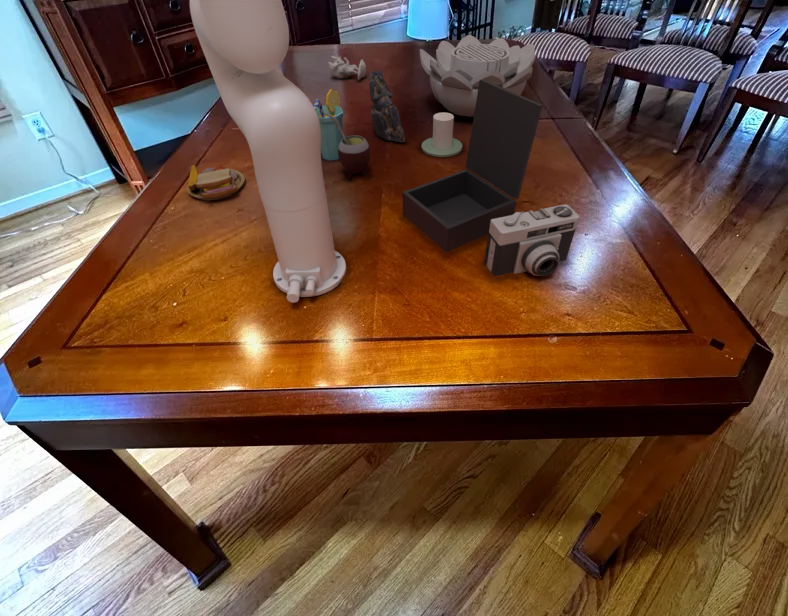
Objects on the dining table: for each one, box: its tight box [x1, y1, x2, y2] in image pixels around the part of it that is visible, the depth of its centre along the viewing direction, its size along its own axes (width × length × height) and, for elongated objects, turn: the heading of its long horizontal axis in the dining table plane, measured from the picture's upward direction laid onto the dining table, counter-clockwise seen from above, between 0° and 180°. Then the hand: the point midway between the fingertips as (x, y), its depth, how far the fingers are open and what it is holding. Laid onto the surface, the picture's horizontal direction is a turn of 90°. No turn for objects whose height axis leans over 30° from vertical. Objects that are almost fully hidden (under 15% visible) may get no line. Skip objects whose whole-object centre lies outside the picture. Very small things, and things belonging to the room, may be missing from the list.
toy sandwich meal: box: [185, 164, 246, 201], centre depth 98 cm, size 12×14×5 cm
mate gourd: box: [322, 111, 371, 182], centre depth 97 cm, size 8×8×15 cm
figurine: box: [328, 55, 367, 82], centre depth 145 cm, size 9×6×12 cm
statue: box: [368, 69, 406, 143], centre depth 110 cm, size 6×12×15 cm, turn 39°
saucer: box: [421, 136, 463, 158], centre depth 110 cm, size 10×10×1 cm
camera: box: [483, 203, 580, 277], centre depth 74 cm, size 14×8×10 cm, turn 106°
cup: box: [312, 88, 344, 161], centre depth 103 cm, size 14×8×15 cm, turn 169°
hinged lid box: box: [401, 168, 517, 253], centre depth 86 cm, size 16×15×6 cm
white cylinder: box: [432, 112, 455, 150], centre depth 108 cm, size 5×5×7 cm
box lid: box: [465, 79, 543, 200], centre depth 81 cm, size 16×15×1 cm
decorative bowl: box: [419, 34, 537, 118], centre depth 120 cm, size 30×30×15 cm
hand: (545, 27), depth 71 cm, fingers closed
